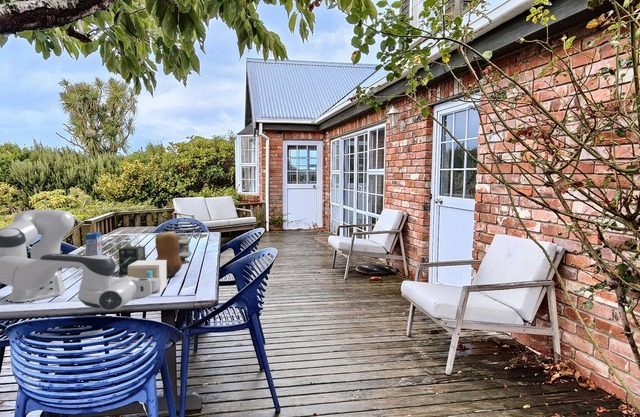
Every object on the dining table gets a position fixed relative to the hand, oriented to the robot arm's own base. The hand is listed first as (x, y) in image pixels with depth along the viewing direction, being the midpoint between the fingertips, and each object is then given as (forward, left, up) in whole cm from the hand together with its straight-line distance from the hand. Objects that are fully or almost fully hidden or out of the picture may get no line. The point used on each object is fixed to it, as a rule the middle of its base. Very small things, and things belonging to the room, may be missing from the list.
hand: (140, 279), depth 166 cm
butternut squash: (+41, +25, -10) cm, 49 cm away
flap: (+9, +10, -9) cm, 16 cm away
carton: (+17, +15, -10) cm, 25 cm away
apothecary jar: (+72, +46, -10) cm, 86 cm away
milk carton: (+45, +92, -10) cm, 103 cm away
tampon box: (+40, +52, -10) cm, 67 cm away
